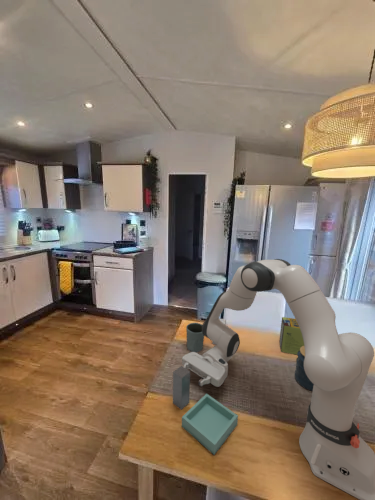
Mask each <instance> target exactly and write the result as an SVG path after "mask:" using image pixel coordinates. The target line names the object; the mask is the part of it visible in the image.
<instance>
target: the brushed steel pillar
mask: <svg viewBox="0 0 375 500" xmlns="http://www.w3.org/2000/svg"><path fill="white" fill-rule="evenodd" d="M172 373H173V374H172V378H173V379H172V404H173V405H174V406H176V408H179V410H183V409H184V408H186V406H187V405H188V404H190V395H191V392H190V391H191V390H190V388H191V370H190V369H186V368H184V365H181V366H179V367H177V369H175V370H173V372H172Z"/></svg>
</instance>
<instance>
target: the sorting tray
mask: <svg viewBox="0 0 375 500" xmlns="http://www.w3.org/2000/svg"><path fill="white" fill-rule="evenodd" d="M238 421H239V415H238V414H237V413H235V412H234V411H232V410H231V409H229V407H226V406H225V405H224V404H222V403H221V402H219V401H218V400H217V399H215V398H214V397H212V396H211V395H209V394H208V393H205V394H204V396H202V397H200V399H199V400H198V401H196V403H195V404H194V405H193V406H192V407H191V408H190V409H188V410H187V411H186V412H185V414H183V415H182V417H181V427H182V428H183V429H184V430H185V431H186V432H187V433H189V435H191V436H192V437H193V438H194V439H195V440H196V441H198V442H199V443H200V445H202V446H203V447H205V449H207V451H209V452H210V453H211V454H212V455H213V456H215V455H216V454H217V452H218V451H219V450H220V449H221V447H222V445H224V443H225V442H226V441H227V439H228V438H229V436H230V435H231V434H232V432H234V430H235V429H236V427H237V426H238V423H239V422H238Z"/></svg>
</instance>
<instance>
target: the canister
mask: <svg viewBox="0 0 375 500" xmlns="http://www.w3.org/2000/svg"><path fill="white" fill-rule="evenodd" d="M296 356H297V357H296V361H295V362H296V364H295V370H294V379H295V381H296V383H297V384H299V385H300V386H301V387H303V388H304V389H305V390H308V391H311V392H313V386H314V384H313V383H312V382H311V381H310V380H309V378H308V377H307V375H306V373H305V370H304V359H305V347H304V346H302V347H301V348H300V350H299V351H298V353H297V355H296Z"/></svg>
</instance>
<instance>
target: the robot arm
mask: <svg viewBox="0 0 375 500" xmlns="http://www.w3.org/2000/svg"><path fill="white" fill-rule="evenodd" d="M272 290H278V291H279V292H280V293H281V294H282V296H283V298H284V300H285V301H286V303H287V305H288V307H289V309H290V311H291V313H292V315H293V316H294V319H296V321H297V323H298V325H299V327H300V330H301V333H302V337H303V341H304V347H305V359H304V370H305V373H306V375H307V377H308V378H309V380H310V381H311V382H312V383H313V384H314V386H313V391H311V392H312V393H311V400H310V403H309V404H308V406H307V411H306V412H307V413H306V424H305V426H304V429H303V431H302V432H301V433H300V436H299V440H298V441H299V449H300V450H301V452H302V454H303V456H304V458H306V460H307V461H308V463H309V466H310V469H311V471H312V473H313V475H314V476H315V477H317V478H318V479H320V480H322V481H324V482H326V483H328V484H331V485H332V486H334V487H336V488H338V489H340V490H341V491H343V492H345V493H347V494H349V495H351V496H353V497H354V498H356V499H358V500H375V452H374V450H373V449H372V447H370V445H369V444H367V442H366V441H365V440H364V439H363V438H362V437H361V436H360V423H359V422H357V425H356V424H355V423H354V422H353V421H354V416H355V411H356V407H357V403H358V401H359V397H360V395H361V392H362V390H363V387H364V384H365V382H366V380H367V377H368V374H369V370H370V368H371V365H372V362H373V360H374V356H375V350H374V347H373V345H372V343H371V342H370V341H369V339H368V338H366V337H365V336H363V335H361V334H359V333H356V332H345V333H344V332H343V333H339V332H338V330H337V329H338V328H337V326H336V313H335V310H334V308H333V307H332V306H331V303H330V302H329V300H328V298H326V296H325V294H324V292H323V291H322V290H321V288H320V286H319V284H318V283H317V282H316V281H315V280H314V278H313V277H312V275H311V274H310V273H309V272H308V270H306V269H305V267H303V266H301V265H299V264H291V263H290V262H288V260H285V259H281V258H276V259H275V258H274V259H261V260H257V261H253V262H252V261H251V262H249V263H247V264H245V265H241V266H239V267H238V268H237V270H236V271H235V273H234V274H233V277H232V279H231V282H230V284H229V287H228V289H227V290H226V291H223V292H221V293H219V296H218V297H217V298H216V300H215V302H214V304H213V306H212V308H211V310H210V311H209V313H208V315H207V317H206V318H205V319H204V321H203V323H202V333H203V335H204V337H206V338H207V339H209V340H210V341H211V342H212V341H213V342H214V343H215V344H216V345H215V344H214V346H212V347H211V348H210V349H208V350H207V351H205V352H204V353H202V354H200V353H199V352H191V351H189V353H186V354H184V355H182V358H181V364H182V365H181V366H183V367H184V368H186V369H187V370H189V371H190V372H193V373H194V374H196V375H197V376H199V377H201V378H200V379H199V380H198V385H199V386H200V387H203V386H204V385H210V384H211V385H213V386H214V387H217V388H218V387H221V385H223V383H224V382H225V380H226V378H227V377H228V373H229V364H228V362H229V361H230V360H231V358H233V357H234V355H235V354H236V353H237V351H238V350H239V349H240V348H239V347H240V344H241V340H240V335H239V333H237V332H236V331H235V330H233V329H232V328H231V327H229V326H228V325H226V323H225V324H224V323H222V322H221V321H220V319H221V318H220V316H221V315H222V312H223V310H224V309H229V310H232V311H235V312H236V311H237V312H238V311H245V310H247V309H249V308H251V306H252V305H253V303H254V301H255V299H256V297H257V292H258V293H260V292H269V291H272Z"/></svg>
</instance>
